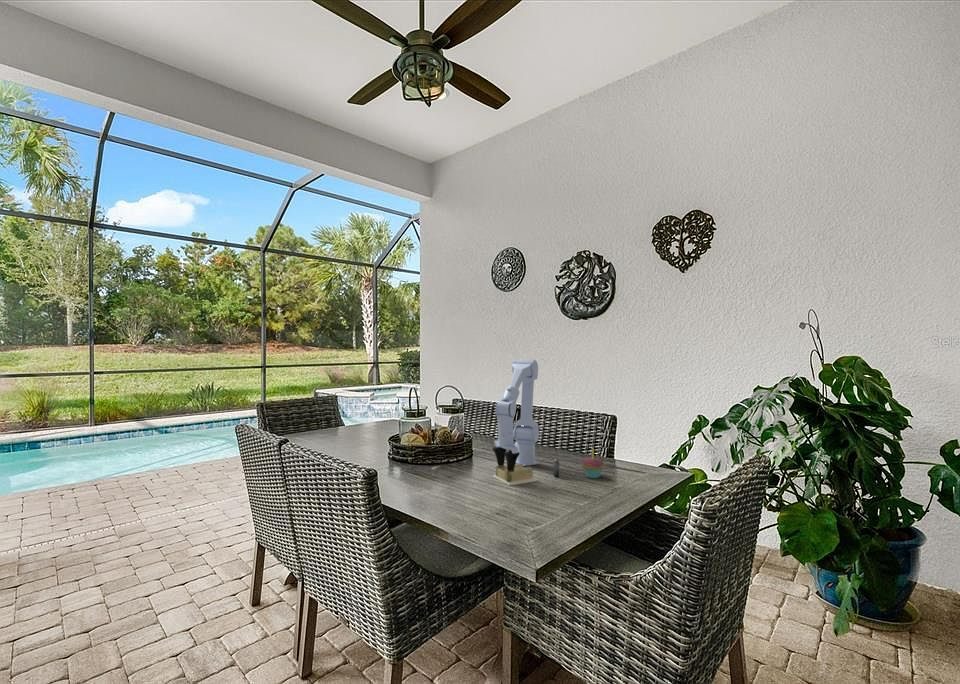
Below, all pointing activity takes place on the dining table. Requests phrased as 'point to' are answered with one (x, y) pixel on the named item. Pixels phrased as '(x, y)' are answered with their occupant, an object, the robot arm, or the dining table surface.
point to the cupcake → (592, 466)
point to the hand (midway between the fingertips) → (505, 468)
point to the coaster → (515, 481)
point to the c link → (514, 473)
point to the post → (556, 468)
